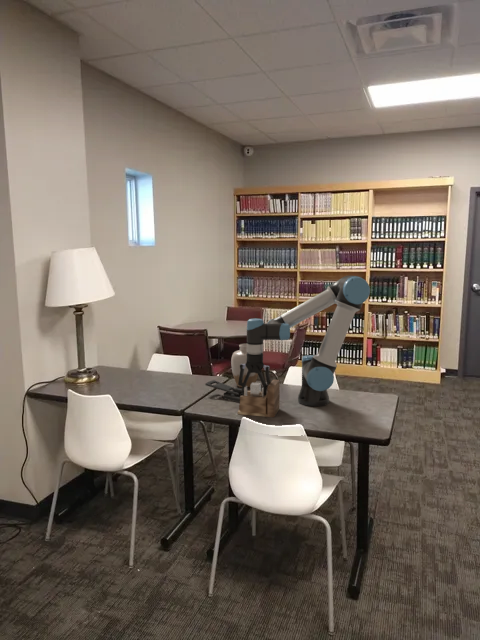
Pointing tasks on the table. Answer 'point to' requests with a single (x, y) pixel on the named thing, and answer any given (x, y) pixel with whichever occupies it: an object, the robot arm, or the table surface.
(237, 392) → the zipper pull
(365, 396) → the table surface
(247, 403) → the wooden box
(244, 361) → the vase
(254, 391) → the white tall block
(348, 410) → the table surface
